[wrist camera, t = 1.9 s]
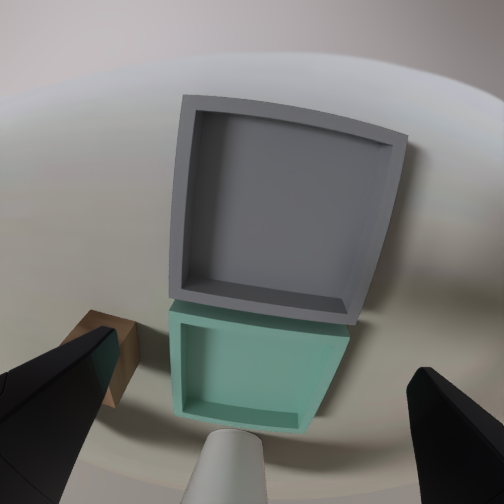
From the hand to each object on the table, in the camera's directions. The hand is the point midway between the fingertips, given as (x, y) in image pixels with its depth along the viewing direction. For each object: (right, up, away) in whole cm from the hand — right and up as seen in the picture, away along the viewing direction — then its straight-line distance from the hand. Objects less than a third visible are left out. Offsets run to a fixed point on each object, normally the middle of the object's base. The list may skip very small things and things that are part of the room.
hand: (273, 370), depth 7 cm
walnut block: (-13, -4, +16) cm, 20 cm away
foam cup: (-3, -18, +21) cm, 28 cm away
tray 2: (-1, -6, +15) cm, 17 cm away
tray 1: (+1, +6, +10) cm, 12 cm away
